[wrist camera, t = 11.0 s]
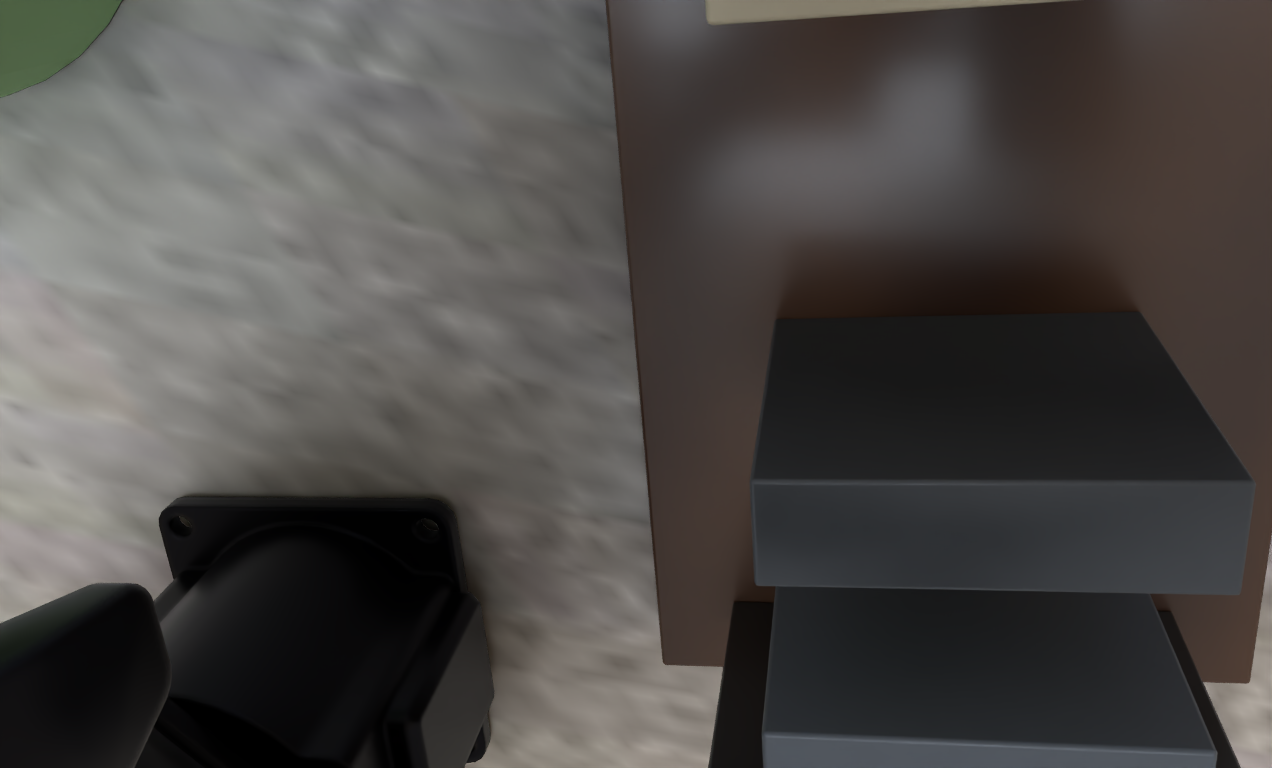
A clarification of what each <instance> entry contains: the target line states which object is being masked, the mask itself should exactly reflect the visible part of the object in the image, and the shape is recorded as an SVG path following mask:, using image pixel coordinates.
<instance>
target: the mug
mask: <svg viewBox="0 0 1272 768" xmlns="http://www.w3.org/2000/svg"><path fill="white" fill-rule="evenodd" d="M121 1H122V0H0V97H3V96H7V95H10V94H12V93H15V92H17V91H20V90H22V89H25V88H27V87H30V86H32V85H35V84H37V83H40V82H42V81H45V80H47V79H48V78H49V77H51V76H52V75H54V74H55V73H57V72H58V71H59V70H61V69H62V68H64V67H65V66H66V65H68V64H69V63H71V62H72V61H74V60H75V59H76V58H78V57H79V56H80V55H81V54H82V53H83V52H84V51H85V50H86V49H87V47H88V46H89V45H90V44H91V43H92V42H93V41H94V40H95V39H96V37H97V36H98V35H99V34H100V33H101V32H102V31H103V30H104V28H105V27H106V26H107V25H108V24H109V22H110V20H111V19H112V17H113V15H114V13H115V12H116V10H117V8H118V6H119V5H120V3H121Z"/></svg>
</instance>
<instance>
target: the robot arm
mask: <svg viewBox="0 0 1272 768" xmlns="http://www.w3.org/2000/svg"><path fill="white" fill-rule="evenodd" d="M179 516H180V517H184V518H185V519H186V520H188V521H189V522H190V524H191V526H192V528H191V527H187V526H186V525H185V524H183V523H182V522H181V520H180V518H179ZM421 519H429V520H432V521H433V522H435V523H436V524H437V526H438V528H439V530H436V531H434V530H430V529H428V528H427V527H425V526H424V524H423V522H422V520H421ZM159 527H160V531H161V535H162V538H163V542H164V546H165V549H166V553H167V557H168V561H169V564H170V568H171V572H172V575H173V579H174V580H173V582H172V583H171V584H170V585H169V586H168V587H167V588H166V589H165V590H164V591H163V592H162V593H161V594H160V595H159V596H158V597H157V598H156V600H155V601H154V602H153V599H152V597H151V595H150V594H149V592H148V591H147V590H146V589H145V588H144V587H142V586H140V585H139V584H131V583H96V584H91V585H88V586H86V587H84V588H81V589H79V590H77V591H74V592H72V593H70V594H67V595H65V596H63V597H61V598H58V599H56V600H54V601H51V602H49V603H47V604H44V605H42V606H40V607H37V608H35V609H33V610H30V611H28V612H26V613H23V614H21V615H19V616H16V617H14V618H12V619H9V620H7V621H5V622H3V623H0V768H464V767H465V765H466V763H471V762H476V761H478V760H480V759H481V758H482V757H483V755H484V754H485V752H486V749H487V747H488V744H489V742H490V728H489V722H488V716H487V713H488V710H489V708H490V706H491V703H492V701H493V698H494V688H493V681H492V675H491V668H490V662H489V655H488V649H487V642H486V636H485V630H484V623H483V617H482V610H481V604H480V602H479V601H478V600H477V599H476V597H475V596H474V595H473V594H472V593H471V592H468V590H467V584H466V578H465V571H464V565H463V559H462V553H461V546H460V540H459V534H458V528H457V521H456V518H455V515H454V513H453V511H452V510H451V509H450V508H449V507H448V505H446V504H444V503H443V502H441V501H439V500H435V499H416V498H269V497H182V498H177V499H176V500H174V501H173V502H172V503H171V504H170V505H169V506H167V507H166V508H165V509H164V510H163V511H162V512H161V515H160V517H159Z"/></svg>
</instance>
